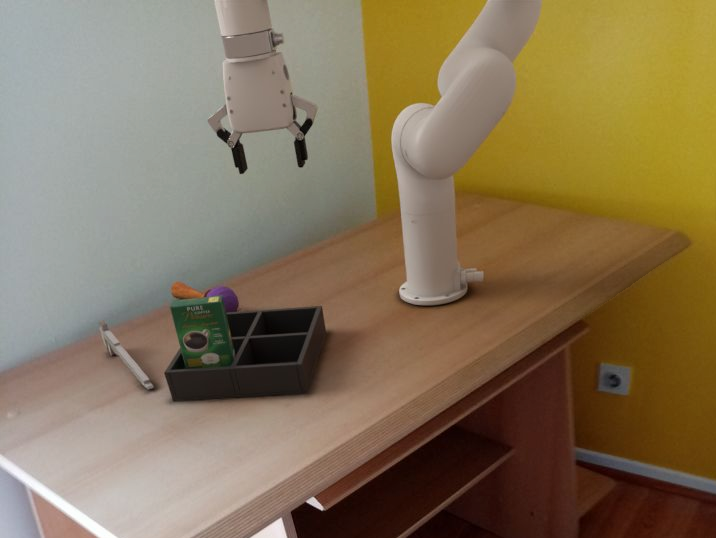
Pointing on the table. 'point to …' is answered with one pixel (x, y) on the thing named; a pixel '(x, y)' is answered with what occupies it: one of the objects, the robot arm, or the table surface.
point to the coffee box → (203, 332)
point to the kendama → (207, 295)
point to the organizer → (257, 357)
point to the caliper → (122, 354)
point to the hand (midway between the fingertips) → (272, 168)
